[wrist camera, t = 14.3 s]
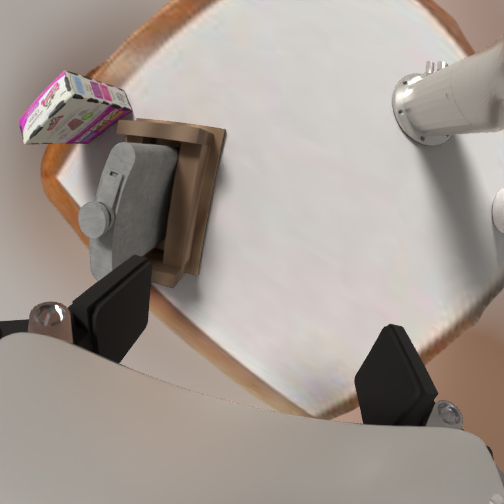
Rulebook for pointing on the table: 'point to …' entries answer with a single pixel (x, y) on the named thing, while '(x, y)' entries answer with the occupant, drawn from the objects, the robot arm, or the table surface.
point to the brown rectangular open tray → (181, 192)
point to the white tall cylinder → (499, 210)
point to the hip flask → (129, 204)
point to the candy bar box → (73, 111)
